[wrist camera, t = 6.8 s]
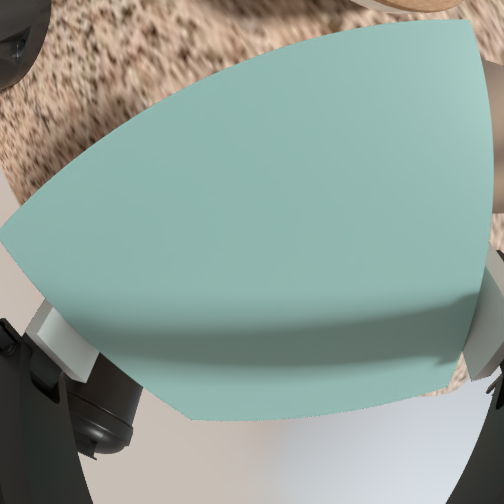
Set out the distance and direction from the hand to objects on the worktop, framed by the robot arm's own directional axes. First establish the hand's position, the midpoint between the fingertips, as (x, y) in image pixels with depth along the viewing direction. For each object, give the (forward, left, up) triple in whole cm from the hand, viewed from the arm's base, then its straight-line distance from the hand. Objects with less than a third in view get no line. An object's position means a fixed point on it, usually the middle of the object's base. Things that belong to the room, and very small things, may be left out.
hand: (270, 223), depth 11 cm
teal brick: (0, 0, -1) cm, 1 cm away
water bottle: (+18, -21, -15) cm, 31 cm away
